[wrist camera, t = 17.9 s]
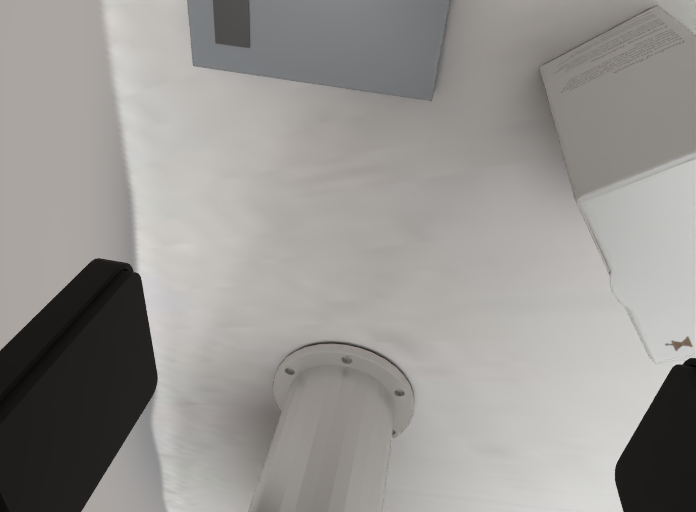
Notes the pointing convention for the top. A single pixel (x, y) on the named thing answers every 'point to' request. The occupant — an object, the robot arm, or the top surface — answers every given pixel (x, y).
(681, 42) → the skincare box
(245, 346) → the top surface
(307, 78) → the breaker board
